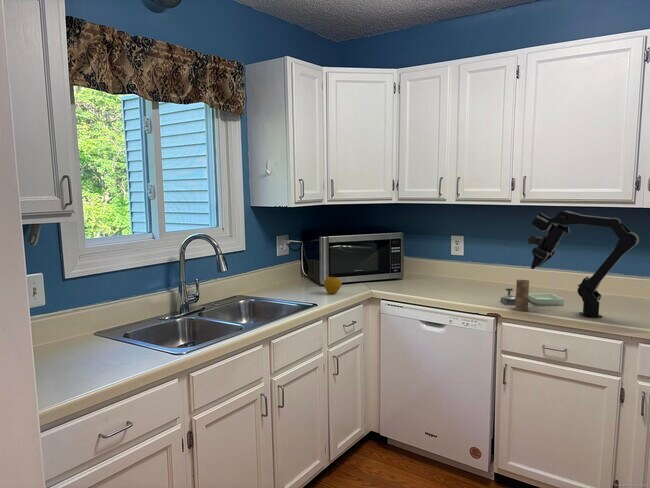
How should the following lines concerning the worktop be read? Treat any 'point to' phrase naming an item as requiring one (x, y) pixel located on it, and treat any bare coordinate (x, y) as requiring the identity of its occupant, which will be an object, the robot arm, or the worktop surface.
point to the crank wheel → (509, 297)
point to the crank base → (508, 301)
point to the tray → (545, 299)
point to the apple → (332, 285)
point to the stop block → (522, 295)
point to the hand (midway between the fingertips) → (534, 267)
